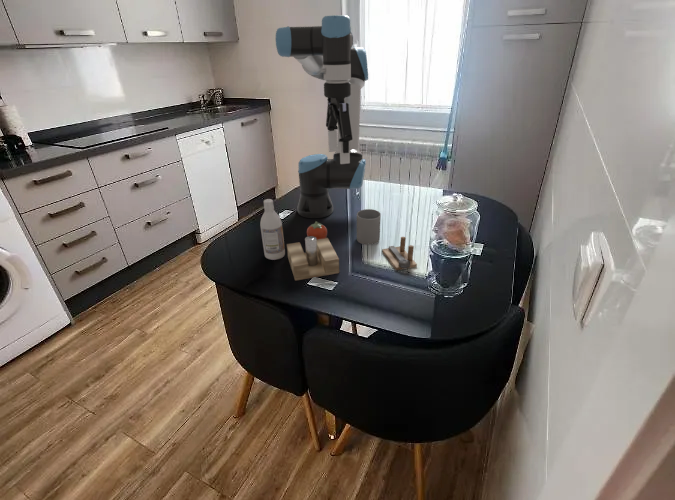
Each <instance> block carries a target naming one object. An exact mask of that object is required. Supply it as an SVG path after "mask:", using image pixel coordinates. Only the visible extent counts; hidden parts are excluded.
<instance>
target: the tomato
mask: <svg viewBox="0 0 675 500" xmlns="http://www.w3.org/2000/svg"><path fill="white" fill-rule="evenodd" d="M306 235H307V236H306V237H308V236H314V237H316V240H317V239H324V238H327V236H328V228H327V227H326V226H325V225H324V224H322V223H321V222H318V221H316V220H315V222H314V223H312V224H310V225H309V226H308V227H307V229H306Z"/></svg>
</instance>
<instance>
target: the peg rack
mask: <svg viewBox="0 0 675 500" xmlns="http://www.w3.org/2000/svg"><path fill="white" fill-rule="evenodd" d="M406 239H407V238H406V236H401V237H400V243H399V245H398V246H394V245H389V246H388V248H387V247H386V248H382V250H381V252H382V254H384V257H385V258H386V259H387V260H388V262H389V264H391V265H392V267H393V268H394V270H396V271H402V270H406V269H411V268H417V266H418V264H417V262H415V260H414V259H413V258H414V249H415V248H414V247H415V246H414V245H412V244H409V245H408V247H407V248H408V251H406Z"/></svg>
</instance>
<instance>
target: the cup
mask: <svg viewBox="0 0 675 500" xmlns="http://www.w3.org/2000/svg"><path fill="white" fill-rule="evenodd" d="M381 217H382V214H381V211H378V210H377V209H371V208H367V209H366V208H365V209H361V210H359V211H357V213H356V241H357V242H358V243H360V244H361V245H366V246H371V245H377V243H379V242H380V239H381V237H380V236H381Z"/></svg>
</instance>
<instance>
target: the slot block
mask: <svg viewBox="0 0 675 500" xmlns="http://www.w3.org/2000/svg"><path fill="white" fill-rule="evenodd" d="M286 251H287V252H286V253H287V258H288V262H289V265H290V269H291V271H292V274H293V275H292V276H293V279H294V281H301V280H306V279H312V278H319V277H323V276H324V277H325V276H329V275H334V274H339V273H340V258H339V256H338V255H337V252H336V250H335V248H334V246H333V245H332V243H331V242H330V239H329V238H328V237H326V238H324V239H317V256H318V264H317V265H316V266H308V262H307V260H306V252H304V249H303V247H302V244H301V242H292V243H286Z"/></svg>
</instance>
